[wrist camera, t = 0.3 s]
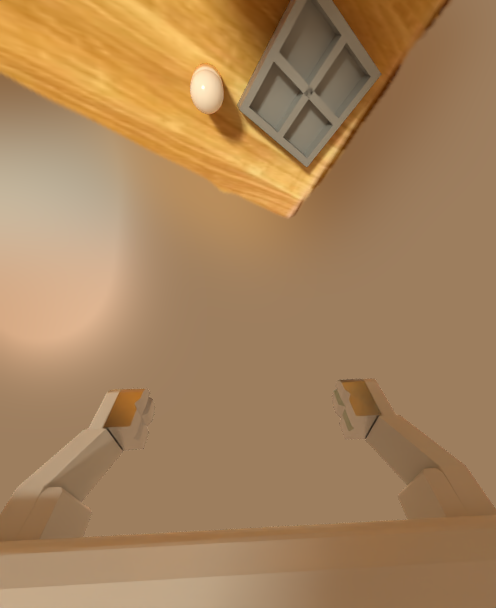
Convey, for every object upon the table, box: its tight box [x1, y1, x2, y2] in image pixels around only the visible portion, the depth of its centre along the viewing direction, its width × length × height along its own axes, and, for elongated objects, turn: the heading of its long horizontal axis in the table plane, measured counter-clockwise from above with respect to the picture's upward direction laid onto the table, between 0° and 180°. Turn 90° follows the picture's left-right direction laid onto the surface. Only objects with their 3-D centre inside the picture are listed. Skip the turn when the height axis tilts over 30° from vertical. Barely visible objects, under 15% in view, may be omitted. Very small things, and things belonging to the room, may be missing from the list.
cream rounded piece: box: [190, 63, 224, 114], centre depth 37 cm, size 5×5×9 cm
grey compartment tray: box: [237, 0, 381, 167], centre depth 40 cm, size 17×17×4 cm
